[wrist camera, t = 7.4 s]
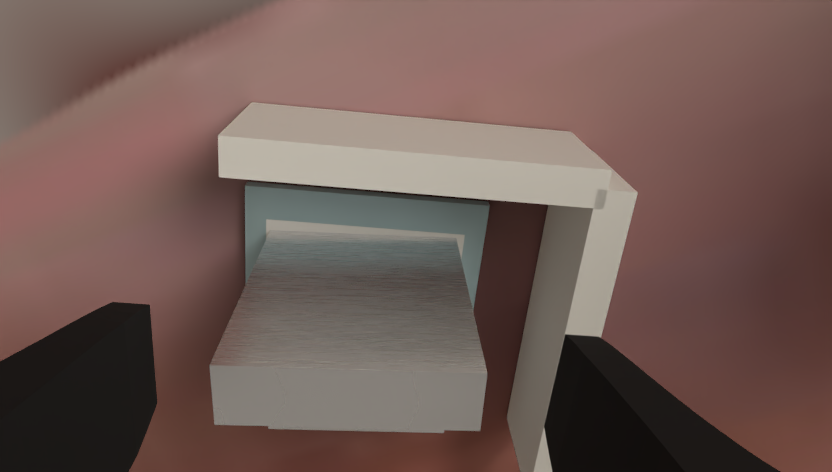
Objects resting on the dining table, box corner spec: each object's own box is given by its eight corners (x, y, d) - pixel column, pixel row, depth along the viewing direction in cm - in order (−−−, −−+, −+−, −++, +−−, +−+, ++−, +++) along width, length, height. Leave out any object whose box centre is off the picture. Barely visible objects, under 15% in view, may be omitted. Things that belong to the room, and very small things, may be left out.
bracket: (270, 230, 15) (209, 365, 10) (456, 238, 15) (487, 373, 10) (276, 398, 17) (227, 581, 12) (440, 403, 17) (460, 584, 12)
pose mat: (247, 181, 15) (244, 185, 15) (487, 201, 15) (489, 206, 15) (249, 411, 18) (246, 419, 17) (453, 423, 18) (454, 430, 18)
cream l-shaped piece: (251, 102, 14) (217, 135, 11) (596, 133, 15) (643, 173, 12) (252, 403, 17) (226, 485, 15) (534, 419, 18) (559, 501, 15)
